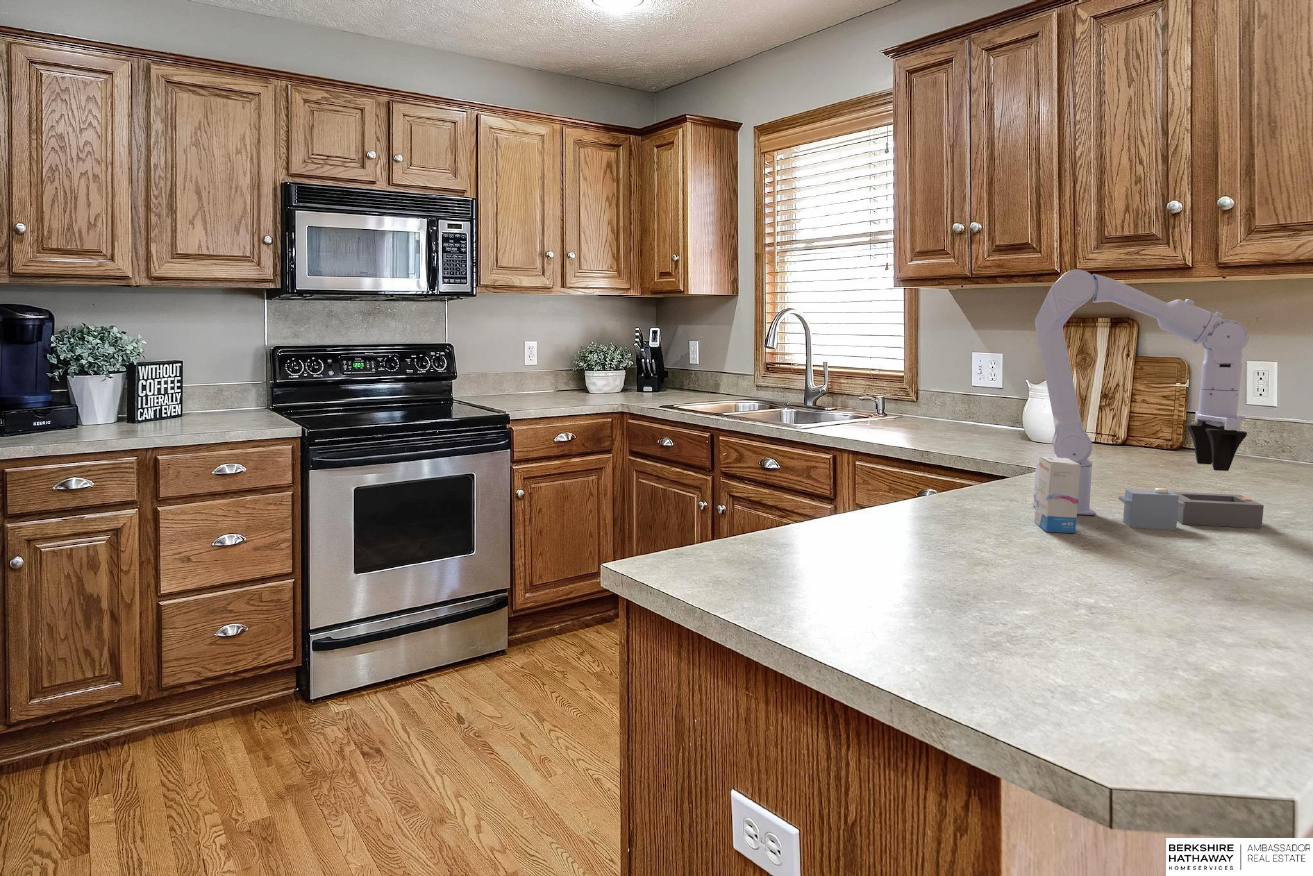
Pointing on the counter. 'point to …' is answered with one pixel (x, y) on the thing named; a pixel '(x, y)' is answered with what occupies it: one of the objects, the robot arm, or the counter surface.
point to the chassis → (1219, 510)
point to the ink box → (1057, 494)
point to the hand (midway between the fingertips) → (1212, 467)
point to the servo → (1151, 508)
